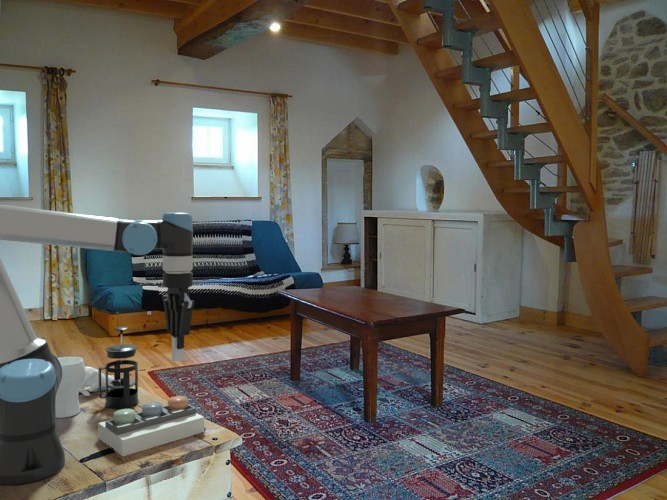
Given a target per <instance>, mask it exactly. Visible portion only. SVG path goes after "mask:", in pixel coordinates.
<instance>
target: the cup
mask: <svg viewBox="0 0 667 500" xmlns="http://www.w3.org/2000/svg"><path fill="white" fill-rule="evenodd" d="M57 358H58V360H59V362H60V364H61V367H62V379H61V382H60V384H59V387H58V390H57V393H56V398H55V411H56V418H57V419H58V418H59V419H61V418H69V417H73V416H76V415H78V414H79V413H80V412H81V405H80V401H79V394H80V391H79V390H80V388H81V386H82V384H83V381H84V378H85V367H86V365H85V361H84V359H83V357H81V356H62V357H61V356H60V357H57Z"/></svg>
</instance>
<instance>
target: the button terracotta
mask: <svg viewBox="0 0 667 500" xmlns="http://www.w3.org/2000/svg"><path fill="white" fill-rule="evenodd" d="M188 399H189V398H188V397H187V396H184V395H183V396H182V395H177V396H172V397H169V398H168V399H167V405H168V408H169V409H172V410H181V409H185V408H186V407H187V406H188V404H189V403H188V401H189V400H188Z"/></svg>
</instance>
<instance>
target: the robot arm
mask: <svg viewBox="0 0 667 500" xmlns="http://www.w3.org/2000/svg"><path fill="white" fill-rule="evenodd" d="M193 225H194V224H193V217H192V215H191V214H190V213H188V212H164V213H163V214H162V218H161V219H157V220H154V219H153V220H152V219H127V218H126V219H123V218H116V217H108V216H107V217H106V216H99V215H98V216H97V215H91V214H83V213H72V212H65V211H59V210H58V211H56V210H48V209H41V208H32V207H31V208H30V207H23V206H18V205H17V206H16V205H9V204H8V205H7V204H0V241H9V242H10V241H11V242H20V243H29V244H40V245H50V246H60V247H69V248H71V247H72V248H80V249H82V248H83V249H90V250H98V251H99V250H101V251H108V252H109V251H111V252H119V253H126V254H127V253H130V254H132V255H135V256H145V255H147V254H149V253H150V252H152V251H153V250H162V271H164V272H163V274H162V286H163V287H164V288H166V289H167V291H166V294H165V295H162V296H161V299H162V302H163V308H164V316H165V325H166V331H167V333H169V334H170V336H171V361H172V362H181V361H184V360H185V336H188V335H190V333H191V323H192V317H193V311H194V310H193V309H194V307H195V305H196V303H195V300H191V299H190V291H189V288H191V287H192V286H193V284H194V280H193V279H194V277H193V275H194V274H193V272H191V271H193V267H194V266H193V261H194V259H193V254H194V253H193V250H194V249H193V247H194V245H193V243H194V229H193ZM50 348H51V347H50V346H49V344H48V342H47V340H46V339H44V338H42V337H38V336H37V335H36V332H35V330H34V328H33V326H32V324H31V321H30V320H29V317H28V315H27V313H26V311H25V308H24V306H23V304H22V302H21V299H20V298H19V296H18V294H17V291H16V289H15V287H14V284H13V283H12V280H11V278H10V276H9V274H8V272H7V270H6V267H5V265H4V263H3V261H2V258H1V257H0V485H7V486H11V485H13V486H14V485H16V486H17V485H22V484H30V483H34V482H37V481H40V480H41V481H42V480H43V479H47V478H48V477H51V476H52V475H54V474H57V473H58V472H59V471H61V470H62V469H63V468H64V466H65V464H66V456H65V455H66V453H65V449H64V448H63V446H62V443H61V441H60V438H59V436H58V433H57V430H56V429H57V425H56V423H57V422H56V421H57V420H56V411H55V398H56V393H57V390H58V387H59V384H60V382H61V379H62V367H61V364H60V362H59V360H58V358H59V357H57V356H56V354H54V353H52V350H51V349H50Z"/></svg>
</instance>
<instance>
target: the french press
mask: <svg viewBox="0 0 667 500" xmlns="http://www.w3.org/2000/svg"><path fill="white" fill-rule="evenodd" d="M129 329H130V328H129V327H128V326H117V327H115V328H113V330H114V331H119V335H120V344H114V345H110V346H107V347H105V349H104V350H105V352H106V357H107V358H108V359H109V358H110V359H112V360H113V359H115V360H113V361H110V362H107V363H106V364H105V365H104V366H101V367H98V371H99V388H98V398H100V399H105V402H104V406H105V408H107V409H112V410H121V409H131V408H133V407H135V406H137V405H138V404H139V401H140V400H139V391H138V390H139V387H138V386H139V385H138V383H139V382H138V381H139V380H138V379H139V378H138V377H139V375H138V374H139V371H138V369H139V366H138V365H139V364H138V361H136V360H131V359H129V358H133V357H134V356H135V355H136V352H137V350H138V347H139V346H137V345H136V344H126V343H125V344H123V335H124V331H128V330H129ZM117 359H119V360H117ZM123 365H132V366H127V367H123ZM113 366H114V367H113ZM103 370H104V371H105V375H106V389H105V394H103V395H102V387H101V372H102V371H103ZM132 371H134V373H135V374H134V375H135V376H134V378H130V372H132ZM109 373H113V374H114V380H111V381H109V382H108V375H109ZM134 386H135V387H134ZM108 387H109V388H111V389H110V390H108ZM133 387H134V388H133Z"/></svg>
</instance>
